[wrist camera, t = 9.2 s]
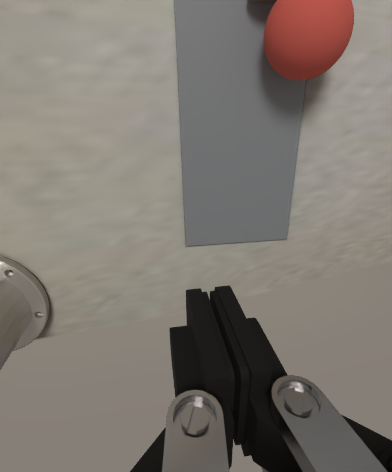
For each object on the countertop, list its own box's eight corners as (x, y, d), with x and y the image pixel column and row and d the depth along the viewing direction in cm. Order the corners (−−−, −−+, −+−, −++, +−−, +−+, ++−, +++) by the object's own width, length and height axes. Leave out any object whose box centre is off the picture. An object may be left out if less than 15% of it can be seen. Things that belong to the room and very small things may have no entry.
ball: (280, -9, 22) (247, 71, 24) (297, -65, 16) (253, 46, 18) (350, 21, 22) (312, 99, 24) (391, -24, 16) (338, 82, 18)
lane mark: (286, 238, 31) (287, 239, 30) (185, 245, 30) (185, 246, 29) (321, -59, 21) (323, -60, 20) (171, -62, 20) (171, -64, 19)
